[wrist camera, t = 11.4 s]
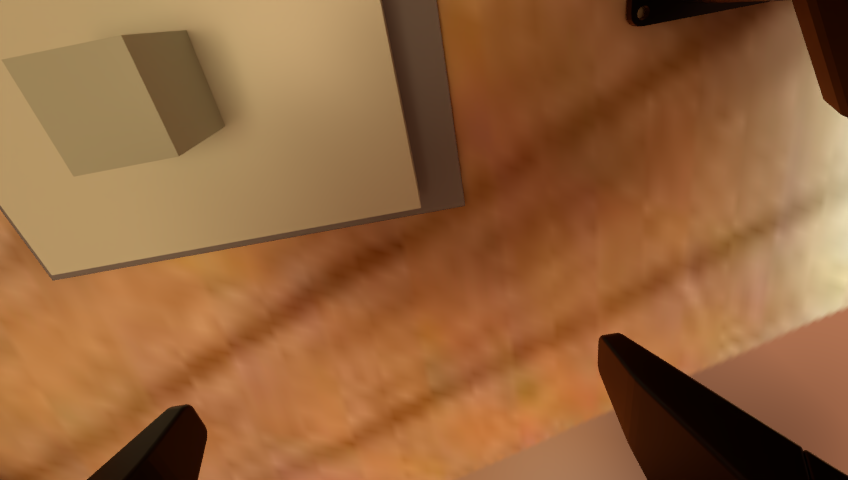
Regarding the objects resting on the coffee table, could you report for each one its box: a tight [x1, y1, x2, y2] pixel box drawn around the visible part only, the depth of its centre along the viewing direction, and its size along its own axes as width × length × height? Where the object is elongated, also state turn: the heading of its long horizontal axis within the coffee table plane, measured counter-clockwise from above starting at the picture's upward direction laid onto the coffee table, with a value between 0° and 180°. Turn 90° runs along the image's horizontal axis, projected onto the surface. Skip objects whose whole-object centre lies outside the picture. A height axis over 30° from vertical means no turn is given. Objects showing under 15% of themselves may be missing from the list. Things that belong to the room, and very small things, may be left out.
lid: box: [0, 0, 421, 275], centre depth 15 cm, size 18×14×6 cm
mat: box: [0, 0, 465, 280], centre depth 18 cm, size 22×16×1 cm
